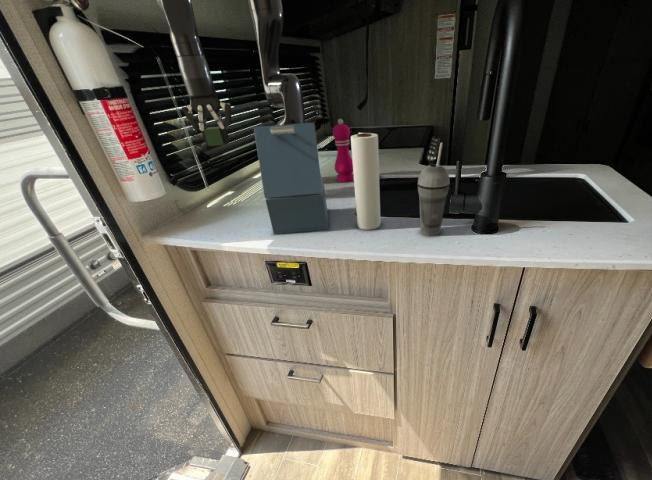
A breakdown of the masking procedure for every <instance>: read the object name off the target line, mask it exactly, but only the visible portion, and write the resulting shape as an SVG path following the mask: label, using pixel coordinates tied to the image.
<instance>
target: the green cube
mask: <svg viewBox="0 0 652 480" xmlns="http://www.w3.org/2000/svg"><path fill="white" fill-rule="evenodd" d="M204 132H205V135H206V138H207V141H208V144H207V145H208V147H215V146H216V147H217V146H225V144H226V143H224V140H223V137H222V133H221V128H220V127H219V126H210V127H206V129H205V130H204Z"/></svg>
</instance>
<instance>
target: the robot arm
mask: <svg viewBox="0 0 652 480" xmlns="http://www.w3.org/2000/svg"><path fill="white" fill-rule="evenodd" d="M155 1H156V3H157V5H158V7H159V8H160V9H161V10H162V11H163V12H164V15H165V19H166V21H167V24H168V27H169V37H170V41H171V44H172V47H173V51H174V53H175V55H176V59H177V62H178V68H179V71H180V75H181V77H182V80H183V83H184V86H185V89H186V92H187V94H188V98H189V105H186V106H183V107H181V111H182V112H183V114H184V116H185V117H186V118H187V120H188V122H189V124H190V126H191V127H192V128H193V130H198V131H200V132H201V135H202V138H203V140H204V143H206V144H207V145H209V144H208V141H207V138H206V135H205V132H204V130H205V129H206V128H207V119H208V118H210V119H213V120H214V121H215V122H216V123H217V125H218V127H220V128H221V133H222V137H223V140H224V143H225V144H227V143H229V140H230V136H229V132H228V130H227V129H228V127H230V126H231V125H232V105H231V103H230V102H227V103H226V102H222V101H221V100H220V99H219V97H218V93H217V90H216V87H215V84H214V80H213V77H212V73H211V70H210V67H209V64H208V61H207V58H206V56H205V54H204V53H205V52H204V48H203V45H202V43H201V39H200V37H199V34H198V33H199V32H198V30H197V22H196V18H195V12H194V8H193V4H192V0H155ZM247 3H248V7H249V12H250V16H251V21H252V24H253V30H254V34H255V39H256V45H257V49H258V55H259V62H260V68H261V78H262V83H263V84H262V85H263V90H264V94H265V97H266V100H267V101H268V103H269V104H270V105H271V106H272V107H273V108H278V109H284V117H283V118H282V119H280V120H279V121H277V122H276V125H288V124H301V123H306V113H305V103H304V93H303V88H302V85H301V82H300V80H299V78H298V77H297V75H295V74H294V73H281V68H280V62H279V48H280V44H281V38H282V35H283V30H284V29H283V28H284V21H285V20H284V19H285V18H284V9H283V4H282V0H247ZM221 108H222V111H223V112H224V120H223V116H222V115H221V113H220V110H221ZM194 112H195V113H196V114H197V115H198V121H197V119H196V117H195V116H194V114H193V113H194Z"/></svg>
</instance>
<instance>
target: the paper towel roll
mask: <svg viewBox="0 0 652 480" xmlns="http://www.w3.org/2000/svg"><path fill="white" fill-rule="evenodd" d="M350 147H351V159H352V161H353V172H352V174H354V180H353V185H354V199H355V210H356V211H355V212H356V224H357V227H358V228H359V229H361V230H366V231H368V230H369V231H370V230H376V229H378V228H379V227H380V226H381V222H382V221H381V193H380V192H381V191H380V189H381V188H380V159H379V158H380V156H379V155H380V154H379V135H378V133H371V132H358V133H357V134H353V135H351V136H350Z"/></svg>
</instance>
